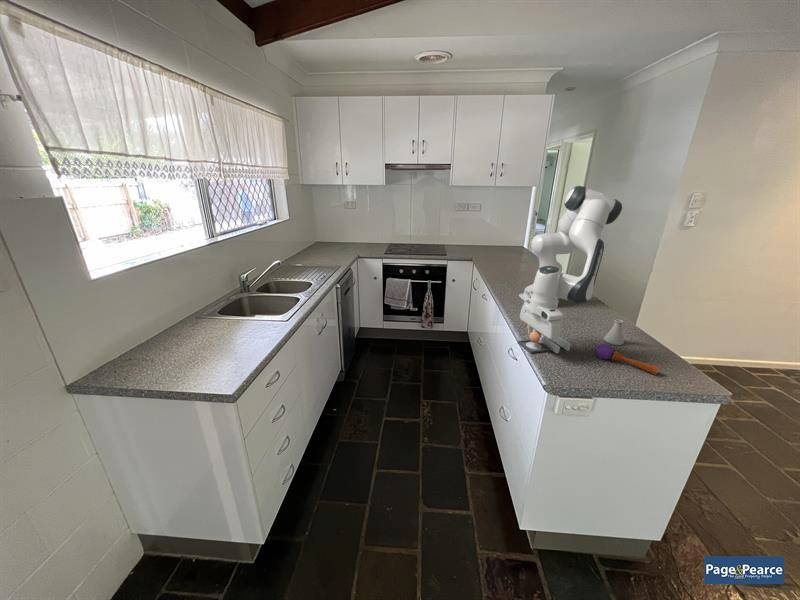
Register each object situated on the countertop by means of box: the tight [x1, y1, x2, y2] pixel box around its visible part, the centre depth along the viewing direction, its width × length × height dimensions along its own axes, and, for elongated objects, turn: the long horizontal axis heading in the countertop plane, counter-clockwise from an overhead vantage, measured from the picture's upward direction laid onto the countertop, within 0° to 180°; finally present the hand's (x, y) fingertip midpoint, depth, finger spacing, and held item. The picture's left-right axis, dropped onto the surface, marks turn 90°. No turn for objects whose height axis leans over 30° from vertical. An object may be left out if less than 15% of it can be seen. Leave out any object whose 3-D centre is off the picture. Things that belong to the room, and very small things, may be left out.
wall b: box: [533, 328, 561, 354], centre depth 136 cm, size 18×1×3 cm, turn 15°
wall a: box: [550, 336, 572, 352], centre depth 139 cm, size 18×1×3 cm, turn 15°
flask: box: [602, 318, 625, 346], centre depth 137 cm, size 7×7×10 cm
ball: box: [528, 330, 542, 343], centre depth 132 cm, size 5×5×5 cm
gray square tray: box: [517, 338, 552, 354], centre depth 133 cm, size 9×9×1 cm
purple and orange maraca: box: [594, 343, 660, 376], centre depth 122 cm, size 6×6×20 cm
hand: (535, 338), depth 132 cm, fingers closed on ball, 5 cm apart
